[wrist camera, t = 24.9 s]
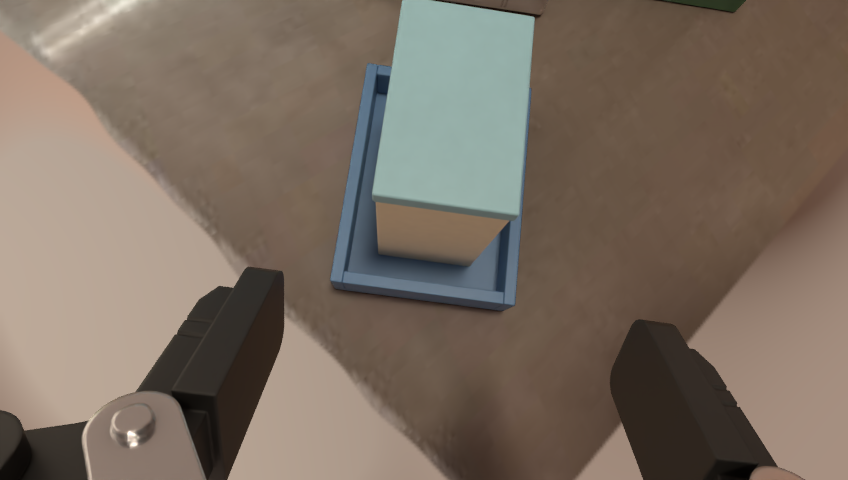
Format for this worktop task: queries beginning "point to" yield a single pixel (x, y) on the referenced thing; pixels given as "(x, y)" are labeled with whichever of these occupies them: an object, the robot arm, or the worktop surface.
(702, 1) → the dish rack
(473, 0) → the coffee box
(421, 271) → the tray
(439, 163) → the container
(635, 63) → the worktop surface
